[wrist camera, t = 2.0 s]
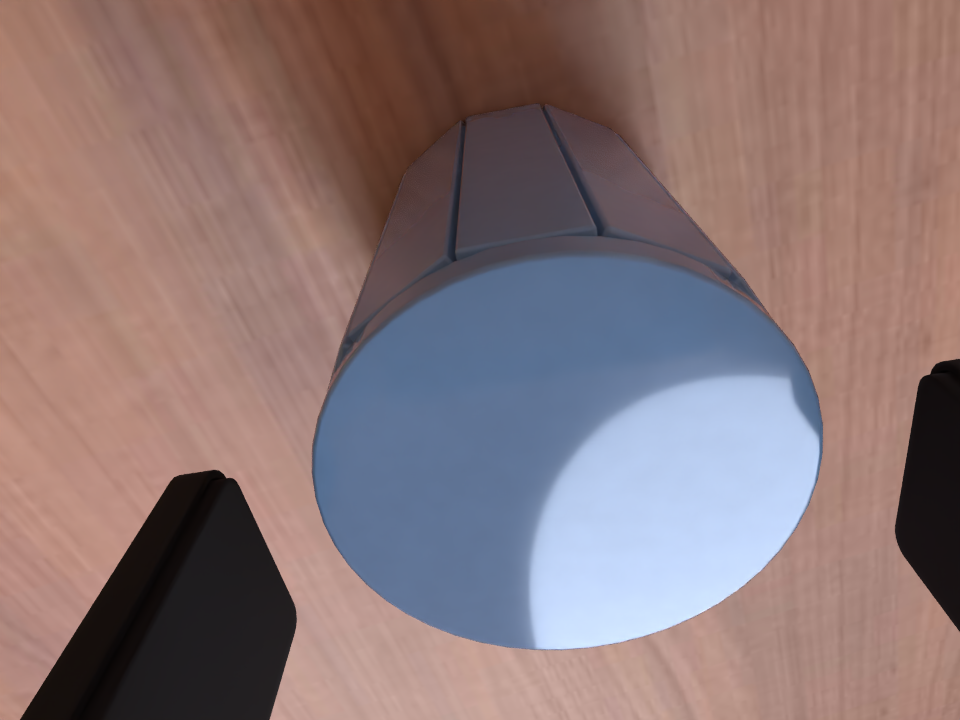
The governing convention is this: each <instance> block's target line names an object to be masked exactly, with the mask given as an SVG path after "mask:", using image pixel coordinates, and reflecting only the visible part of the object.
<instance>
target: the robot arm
mask: <svg viewBox="0 0 960 720" xmlns="http://www.w3.org/2000/svg"><path fill="white" fill-rule="evenodd" d="M895 534H896V540H897V543H898V546H899V548H900V550H901V552H902V554H903V555H904V557H905V558H906V560H907V561H908V562H909V564H910V565H911V566H912V568H913V569H914V570H915V572H916V573H917V575H918V576H919V577H920V579H921V580H922V581H923V583H924V584H925V585H926V587H927V588H928V589H929V591H930V592H931V593H932V595H933V596H934V598H935V599H936V600H937V602H938V603H939V604H940V606H941V607H942V608H943V610H944V611H945V612H946V614H947V615H948V616H949V618H950V619H951V621H952V622H953V623H954V625H955V626H956V627H957V629H958V630H959V631H960V359H956V360H949V361H943V362H940V363H938V364H936V365H935V366H934V367H933V369H932V371H931V374H930V375H926V376H924V377H923V378H922V379H921V380H920V382H919V386H918V391H917V397H916V403H915V409H914V415H913V421H912V427H911V433H910V439H909V446H908V452H907V458H906V464H905V470H904V476H903V482H902V488H901V494H900V500H899V506H898V512H897V518H896V525H895ZM296 622H297V617H296V609H295V605H294V602H293V600H292V598H291V596H290V594H289V592H288V590H287V587H286V585H285V583H284V581H283V579H282V577H281V575H280V572H279V570H278V568H277V566H276V564H275V562H274V560H273V557H272V555H271V553H270V551H269V549H268V547H267V545H266V542H265V540H264V538H263V536H262V534H261V532H260V530H259V527H258V525H257V523H256V521H255V519H254V517H253V515H252V512H251V510H250V508H249V506H248V504H247V502H246V500H245V497H244V495H243V493H242V491H241V489H240V487H239V485H238V483H237V482H236V481H235V480H234V479H233V478H226V477H225V476H224V474H223V473H221V472H220V471H218V470H211V471H204V472H197V473H191V474H184V475H179V476H176V477H174V478H173V479H172V481H171V482H170V483H169V485H168V486H167V488H166V489H165V491H164V493H163V494H162V496H161V497H160V499H159V500H158V502H157V504H156V505H155V507H154V508H153V510H152V512H151V513H150V515H149V516H148V518H147V519H146V521H145V523H144V524H143V526H142V527H141V529H140V531H139V532H138V534H137V535H136V537H135V538H134V540H133V542H132V543H131V545H130V546H129V548H128V550H127V551H126V553H125V554H124V556H123V557H122V559H121V561H120V562H119V564H118V565H117V567H116V569H115V570H114V572H113V573H112V575H111V576H110V578H109V580H108V581H107V583H106V584H105V586H104V588H103V589H102V591H101V592H100V594H99V595H98V597H97V599H96V600H95V602H94V603H93V605H92V607H91V608H90V610H89V611H88V613H87V614H86V616H85V618H84V619H83V621H82V622H81V624H80V626H79V627H78V629H77V630H76V632H75V634H74V635H73V637H72V638H71V640H70V641H69V643H68V645H67V646H66V648H65V649H64V651H63V653H62V654H61V656H60V657H59V659H58V660H57V662H56V664H55V665H54V667H53V668H52V670H51V672H50V673H49V675H48V676H47V678H46V679H45V681H44V683H43V684H42V686H41V687H40V689H39V691H38V692H37V694H36V695H35V697H34V698H33V700H32V702H31V703H30V705H29V706H28V708H27V710H26V711H25V713H24V714H23V716H22V717H21V719H20V720H269V719H270V716H271V713H272V709H273V706H274V702H275V699H276V695H277V692H278V689H279V685H280V682H281V678H282V675H283V671H284V668H285V665H286V661H287V658H288V654H289V651H290V647H291V644H292V640H293V637H294V634H295V629H296Z"/></svg>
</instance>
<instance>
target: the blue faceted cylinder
mask: <svg viewBox="0 0 960 720" xmlns="http://www.w3.org/2000/svg"><path fill="white" fill-rule="evenodd" d="M822 453H823V422H822V416H821V410H820V405H819V399H818V395H817V392H816V389H815V386H814V384H813V381H812V378H811V375H810V373H809V370H808V368H807V366H806V365H805V363H804V361H803V360H802V358H801V356H800V354H799V353H798V351H797V349H796V347H795V346H794V344H793V343H792V342H791V341H790V339H789V338H788V337H787V336H786V335H785V333H784V332H783V331H782V330H781V329H780V327H779V326H778V325H777V324H776V323H775V321H774V320H773V319H772V317H771V316H770V315H769V313H768V312H767V310H766V309H765V307H764V306H763V305H762V303H761V302H760V300H759V299H758V298H757V296H756V295H755V293H754V292H753V290H752V289H751V288H750V286H749V285H748V283H747V282H746V280H745V279H744V278H743V277H742V275H741V274H740V273H739V272H738V271H737V270H736V269H735V267H734V266H733V265H732V264H731V263H730V262H729V261H728V259H727V258H726V257H725V256H724V255H723V254H722V252H721V251H720V250H719V249H718V248H717V247H716V246H715V244H714V243H713V242H712V241H711V240H710V239H709V238H708V236H707V235H706V234H705V233H704V232H703V231H702V229H701V228H700V227H699V226H698V225H697V224H696V223H695V221H694V220H693V219H692V218H691V217H690V216H689V215H688V213H687V212H686V211H685V210H684V209H683V208H682V206H681V205H680V204H679V203H678V202H677V201H676V200H675V198H674V197H673V196H672V195H671V194H670V193H669V191H668V190H667V189H666V188H665V187H664V186H663V185H662V183H661V182H660V181H659V180H658V179H657V178H656V177H655V175H654V174H653V173H652V172H651V171H650V170H649V168H648V167H647V166H646V165H645V164H644V163H643V162H642V160H641V159H640V158H639V157H638V156H637V155H636V154H635V152H634V151H633V150H632V149H631V148H630V147H629V145H628V144H627V143H626V142H625V141H624V140H623V139H622V137H621V136H620V135H619V134H615V133H614V131H613V130H612V129H611V128H608V127H606V126H603V125H600V124H598V123H595V122H592V121H590V120H587V119H585V118H582V117H579V116H577V115H574V114H572V113H569V112H566V111H564V110H561V109H558V108H556V107H553V106H551V105H545V106H544V107H543V110H542V109H541V106H540V105H539V104H538V103H536V104H531V105H526V106H521V107H516V108H510V109H505V110H500V111H495V112H490V113H485V114H480V115H474V116H469V117H467V118H466V125H465V124H464V123H463V122H462V121H459V122H457V123H456V124H455V125H454V126H453V127H452V128H451V129H450V130H449V131H448V132H446V133H445V134H444V135H443V136H442V137H441V138H440V139H439V140H438V141H436V142H435V143H434V144H433V145H432V146H431V147H430V148H429V149H428V150H426V151H425V152H424V153H423V154H422V155H421V156H420V157H419V158H418V159H417V160H415V161H414V162H413V163H412V164H411V165H410V166H409V167H408V169H407V171H406V174H404V175H403V177H402V180H401V183H400V185H399V188H398V191H397V193H396V196H395V199H394V202H393V204H392V207H391V210H390V212H389V215H388V218H387V220H386V223H385V226H384V229H383V231H382V234H381V237H380V239H379V242H378V245H377V247H376V250H375V253H374V256H373V258H372V261H371V264H370V266H369V269H368V272H367V274H366V277H365V280H364V283H363V285H362V288H361V291H360V293H359V296H358V299H357V301H356V304H355V307H354V310H353V312H352V315H351V318H350V320H349V323H348V326H347V328H346V331H345V334H344V337H343V339H342V342H341V345H340V348H339V352H338V355H337V359H336V362H335V366H334V369H333V373H332V376H331V380H330V383H329V387H328V390H327V394H326V396H325V399H324V402H323V405H322V407H321V410H320V413H319V416H318V419H317V424H316V429H315V434H314V439H313V444H312V478H313V485H314V491H315V498H316V501H317V504H318V507H319V510H320V513H321V516H322V520H323V523H324V525H325V527H326V529H327V531H328V533H329V535H330V537H331V539H332V541H333V543H334V545H335V546H336V548H337V549H338V551H339V552H340V554H341V555H342V556H343V558H344V559H345V561H346V562H347V563H348V565H349V566H350V567H351V568H352V569H353V571H354V572H355V573H356V574H357V575H358V576H359V577H360V578H361V579H362V580H363V581H364V582H365V583H366V584H367V585H368V586H369V587H370V588H371V589H373V590H374V591H375V592H376V593H377V594H379V595H380V596H381V597H382V598H384V599H385V600H386V601H387V602H389V603H391V604H392V605H394V606H395V607H397V608H398V609H400V610H401V611H403V612H404V613H406V614H408V615H410V616H412V617H414V618H416V619H418V620H419V621H421V622H423V623H425V624H427V625H429V626H432V627H434V628H437V629H440V630H442V631H445V632H447V633H450V634H453V635H455V636H459V637H462V638H466V639H470V640H473V641H477V642H481V643H486V644H491V645H497V646H502V647H509V648H519V649H530V650H570V649H583V648H592V647H599V646H605V645H611V644H617V643H621V642H625V641H629V640H633V639H637V638H641V637H645V636H648V635H651V634H654V633H657V632H659V631H662V630H665V629H668V628H671V627H673V626H675V625H678V624H680V623H682V622H684V621H687V620H689V619H691V618H693V617H696V616H697V615H699V614H701V613H703V612H705V611H706V610H708V609H710V608H712V607H713V606H715V605H717V604H719V603H720V602H722V601H723V600H725V599H726V598H728V597H729V596H730V595H732V594H733V593H735V592H736V591H738V590H739V589H740V588H742V587H743V586H744V585H745V584H747V583H748V582H749V581H750V580H751V579H752V578H753V577H755V576H756V575H757V574H758V573H759V572H760V571H762V570H763V569H764V568H765V567H766V565H767V564H768V563H769V562H770V561H771V560H772V559H773V558H774V557H775V556H776V555H777V553H778V552H779V551H780V550H781V549H782V548H783V546H784V545H785V543H786V542H787V541H788V539H789V538H790V536H791V535H792V534H793V532H794V531H795V529H796V528H797V526H798V524H799V522H800V520H801V519H802V517H803V515H804V513H805V511H806V509H807V507H808V505H809V503H810V500H811V497H812V494H813V492H814V489H815V486H816V483H817V480H818V475H819V470H820V464H821V459H822Z"/></svg>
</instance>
